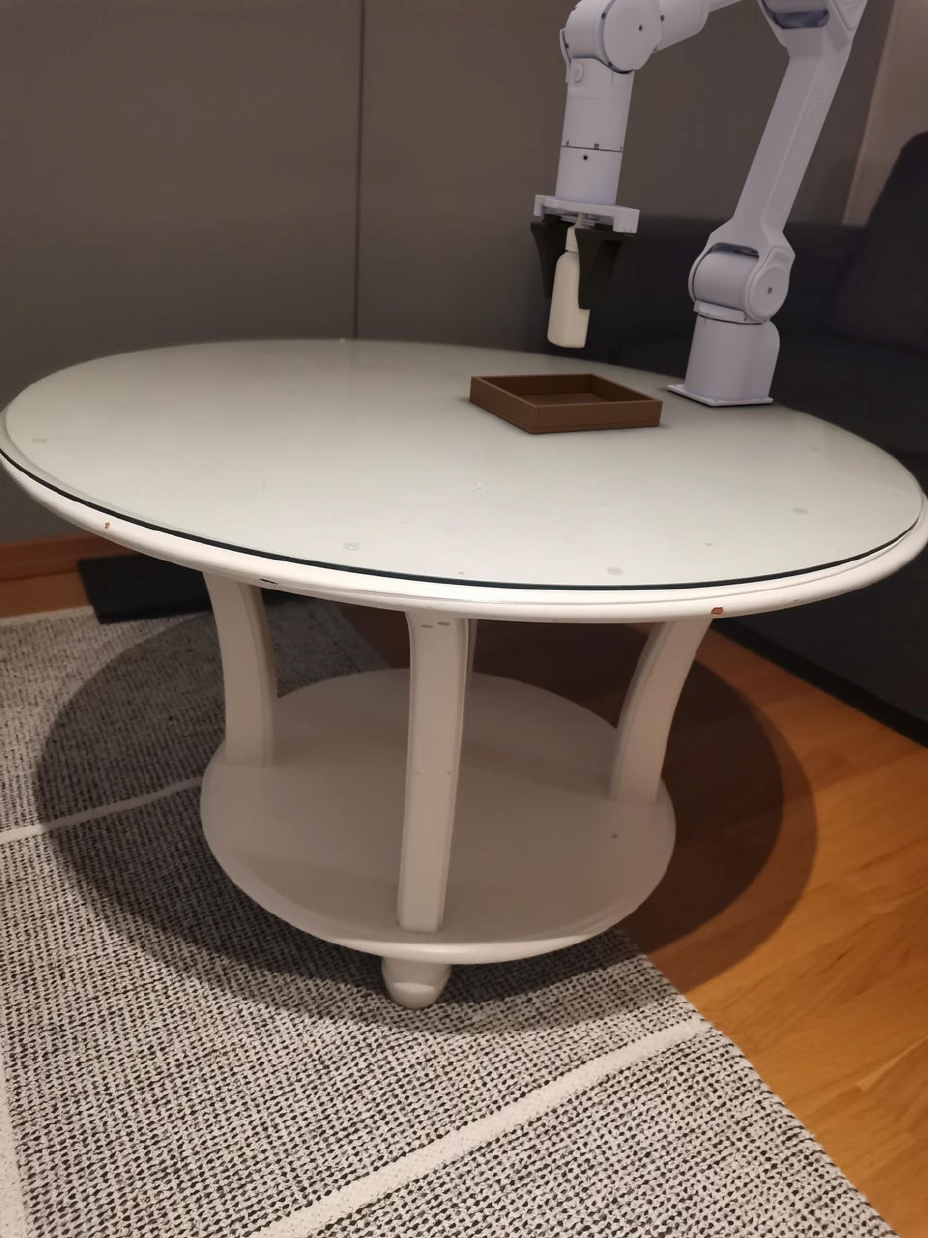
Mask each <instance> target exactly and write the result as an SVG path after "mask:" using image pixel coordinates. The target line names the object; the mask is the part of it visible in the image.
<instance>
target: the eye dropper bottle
mask: <svg viewBox="0 0 928 1238" xmlns="http://www.w3.org/2000/svg"><path fill="white" fill-rule="evenodd" d="M577 217H578V219H577V222H576V224H575V225H574V226H572V227H570V228H568V233H567V240H566V248H565V250H568V251H567V252H565V253H564V254H563V255H562V256H561V257H560V258H559V259H558V261H557V265H556V272H555V279H554V287H553V295H552V299H551V304H550V311H549V319H548V328H547V340H548V342H550V343H552V344H554V345H555V346H558V347H562V348H568V349H569V348H573V349H582V348H584V347H585V344H586V340H587V333H588V325H589V318H590V313H591V312H590V311H591V310H582V309H579V304H578V289H579V274H580V266H579V253H578V246H577V241H576V237H575V233H574V231H575V228H585V229H591V228H590V227H589V225H585V224H582V222H583V221H582V218H584V219H588V214H586V213H579V212H578V214H577Z"/></svg>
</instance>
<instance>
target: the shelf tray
mask: <svg viewBox="0 0 928 1238" xmlns="http://www.w3.org/2000/svg"><path fill="white" fill-rule="evenodd" d="M468 400H469V402H470V403H473V404H475V405H477V406H478V407H480V408H481V409H484V410H486V411H488V412H490V413H491V414H494V415H495V416H497V417H499V418H500V419H503V420H505V421H507V422H508V423H510V424H511V425H514V426H516V427H518V428H520V429H521V430H523V431H525V432H527V433H529V434H532V435H533V434H535V435H536V434H548V433H564V432H580V431H581V432H582V431H597V430H613V429H628V428H629V429H630V428H643V427H644V428H645V427H658V426H660V423H661V422H660V420H661V416H662V410H663V405H664V401H663V400H661V399H659V398H656V397H654V396H652V395H649V394H647V393H644V392H641V391H639V390H636V389H634V388H631V387H630V386H629V387H628V386H626V385H624V384H621V383H619V382H616V381H614V380H612V379H610V378H606V377H604V376H602V375H599V374H596V373H594V372H577V373H575V372H574V373H573V372H572V373H542V374H539V373H538V374H507V375H506V374H505V375H503V374H502V375H477V376H476V375H473V376H471V377H470V385H469V398H468Z"/></svg>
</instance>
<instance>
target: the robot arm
mask: <svg viewBox="0 0 928 1238" xmlns="http://www.w3.org/2000/svg"><path fill="white" fill-rule="evenodd" d="M741 1H742V0H580V1H579V2H578V3H577V4H576V5H575V6H574V10H571V12H570V14H569V16H568V18H567V21H566V24H565V27H563V28H562V29H560V30H559V45H560V46H559V47H560V51H561V54H562V57H563V59H564V62H565V66H566V73H565V84H567V92H566V102H565V110H564V117H563V124H562V135H561V142H560V143H561V144H560V151H559V158H558V159H559V160H558V168H557V169H558V170H557V176H556V184H555V192H554V195H543V194H535V197H534V208H533V216H535V217H540V218H541V217H542V219H541V221H530V226H529V229H530V231H531V234H532V236H533V239H534V242H535V244H536V249H537V251H538V257H539V262H540V269H541V276H542V286H543V287H542V289H543V296H544V298H545V299H547V300H550V299H551V300H552V295H553V287H554V279H555V272H556V265H557V261H558V259H559V258H560V257H561V256H562V255H563V254H564V253H565V252H567V251H568V250H565V248H566V240H567V233H568V228H570V227H572V226H574V225H575V224H576V222H577V219H578V216H576V215H579V213H585V214H587V219H584V218H582V221H583V222H582V224H585V225H588V226H590V227H593V228H590V229H585V228H575V231H574V233H575V237H576V241H577V246H578V253H579V266H580V274H579V289H578V304H579V309H582V310H590V311H600V310H601V307H602V305H603V302H604V300H605V297H606V295H607V292H608V289H609V287H610V285H611V282H612V280H613V278H614V275H615V274H616V271H617V269H618V268H619V266H620V264H621V263H622V261H623V259H624V258H625V256H626V255H627V254H628V252H629V251H630V249H631V248H632V247H633V246H634V244H635V240H636V236H635V235H634V234H636V233H637V231H638V224H639V218H640V212H641V210H640V209H636V208H630V207H628V206H627V207H626V206H622V205H619V204H616V201H617V194H618V188H619V182H620V174H621V169H622V168H621V167H622V160H623V154H624V153H623V152H624V147H625V139H626V132H627V127H628V126H627V125H628V118H629V112H630V105H631V99H632V92H633V86H634V85H633V84H634V79H635V78H634V77H635V73H636V72H635V70H636V71H638V70H640V69H641V68H643V66H645V64H646V63H647V61H648V60H649V58H650V57H651V55H653V54H655V53H658V52H660V51H662V50H664V49H667V48H668V47H671V46H674V45H675V44H678V43H680V42H682V41H684V40H686V39H687V40H688V39H689V38H691V37H694V36H695V35H698V34H699V32H701V30H702V29H704V26H705V25H706V22H707V20H708V17H709V14H710V13H712V12H714V11H717V10H720V9H722V8H725V7H729V6H731V5H733V4H737V3H739V2H741ZM756 1H757V4H758V6H759V8H760V11H761V12H762V14H763V16H764V18H765V20H766V21H767V23H768V24H769V26H770V28H771V30H772V31H773V34H774V35H775V36H776V38H777V40H778V42H779V44H780V45H782V46H783V47H784V48H786V50H787V54H788V57H789V62H788V65H787V67H786V70H785V73H784V76H783V79H782V81H781V84H780V87H779V90H778V92H777V95H776V98H775V101H774V103H773V106H772V109H771V112H770V115H769V116H768V120H767V123H766V124H765V128H764V131H763V132H762V133H763V134H762V136H761V138H760V142H759V144H758V147H757V150H756V153H755V156H754V158H753V161H752V164H751V166H750V170H749V171H748V175H747V178H746V181H745V184H744V186H743V189H742V192H741V194H740V197H739V200H738V203H737V206H736V208H735V211H734V214H733V216H732V217H731V218H730V219H729V220H727V222H725V223H724V224H722V225H720V226H719V227H718V228H716V230H714V231H713V232H711V233H710V235H708V236H709V237H708V239H707V242H706V245H705V247H704V249H703V250H702V252H701V253H700V254H699V255H698V256H697V258H696V259H695V261H694V262H693V264H692V266H691V268H690V272H689V276H688V282H687V288H688V295H689V296H690V298H691V300H692V302H693V303H694V307H693V312H695V313H697V314H696V315H697V316H696V320H695V326H694V332H693V336H692V342H691V348H690V353H689V357H688V362H687V368H686V373H685V378H684V382H683V384H667V387H666V389H667V390H669V391H670V392H674V393H676V394H679V395H682V396H684V397H686V398H690V399H691V400H695V401H697V402H700V403H702V404H705V405H708V406H710V407H711V406H712V407H720V406H721V407H722V406H739V405H740V406H741V405H757V404H759V405H760V404H761V405H762V404H773V402H774V399H773V398H771V397H769V395H770V389H771V386H772V381H773V378H774V373H775V369H776V365H777V362H778V361H777V360H778V356H779V352H780V346H781V345H780V344H781V343H780V335H779V331H778V328H777V327H776V325H775V324H774V323H773V322H772V321H771V318H772V317H773V316H775V314H776V313H778V311H779V310H780V309H781V307H782V306H783V304H784V302H785V300H786V298H787V295H788V292H789V287H790V286H789V285H790V275H791V269H792V266H793V264H794V261H795V258H796V254H795V251H794V250H793V247H792V246H791V244H790V243H789V241H788V240H787V238H786V236H785V234H784V232H783V231H784V228H785V226H786V223H787V220H788V218H789V215H790V213H791V210H792V207H793V205H794V202H795V200H796V197H797V195H798V191H799V189H800V186H801V183H802V181H803V178H804V176H805V173H806V171H807V168H808V165H809V163H810V160H811V157H812V155H813V152H814V150H815V147H816V144H817V142H818V139H819V136H820V133H821V131H822V128H823V126H824V123H825V120H826V118H827V115H828V113H829V110H830V107H831V105H832V102H833V99H834V97H835V95H836V92H837V89H838V86H839V84H840V81H841V78H842V76H843V73H844V70H845V68H846V66H847V63H848V60H849V57H850V54H851V50H852V45H853V41H854V38H855V35H856V33H857V30H858V27H859V25H860V22H861V19H862V17H863V14H864V11H865V8H866V6H867V3H868V1H869V0H756ZM628 233H631V234H628ZM632 234H633V235H632ZM753 255H754V256H753Z"/></svg>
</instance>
